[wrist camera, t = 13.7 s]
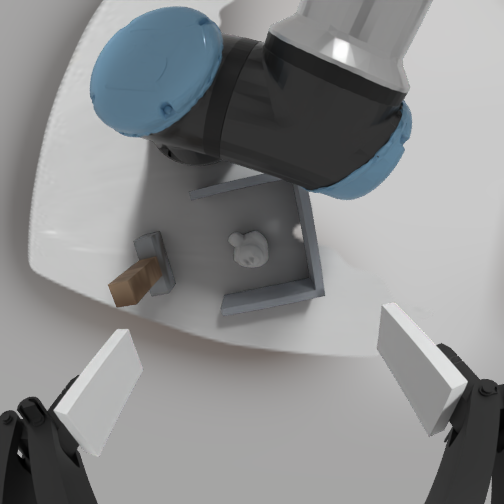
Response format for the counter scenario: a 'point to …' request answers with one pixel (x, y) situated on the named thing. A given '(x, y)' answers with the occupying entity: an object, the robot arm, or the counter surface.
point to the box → (284, 291)
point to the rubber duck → (249, 249)
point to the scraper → (144, 273)
